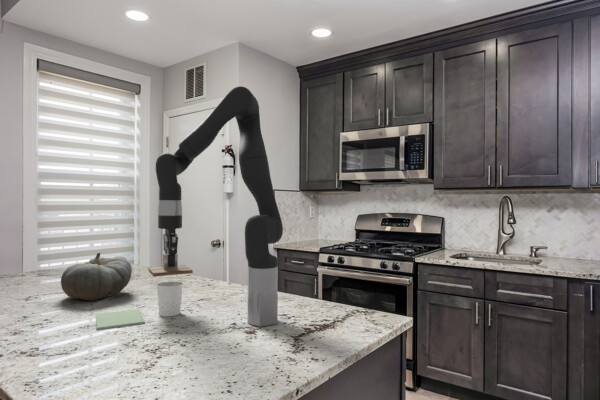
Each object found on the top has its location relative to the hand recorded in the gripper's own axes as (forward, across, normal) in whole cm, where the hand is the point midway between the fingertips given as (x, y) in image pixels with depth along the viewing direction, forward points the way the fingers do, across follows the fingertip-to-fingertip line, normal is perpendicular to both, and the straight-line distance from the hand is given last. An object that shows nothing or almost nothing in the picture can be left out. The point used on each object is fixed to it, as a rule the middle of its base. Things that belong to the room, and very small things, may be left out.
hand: (170, 265), depth 126 cm
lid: (+2, 0, 0) cm, 2 cm away
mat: (+16, +1, +15) cm, 22 cm away
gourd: (+16, +38, +21) cm, 46 cm away
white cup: (+16, 0, 0) cm, 16 cm away
